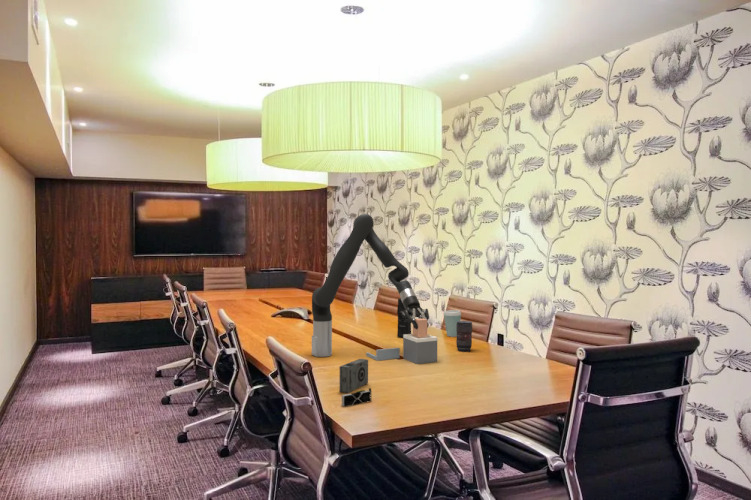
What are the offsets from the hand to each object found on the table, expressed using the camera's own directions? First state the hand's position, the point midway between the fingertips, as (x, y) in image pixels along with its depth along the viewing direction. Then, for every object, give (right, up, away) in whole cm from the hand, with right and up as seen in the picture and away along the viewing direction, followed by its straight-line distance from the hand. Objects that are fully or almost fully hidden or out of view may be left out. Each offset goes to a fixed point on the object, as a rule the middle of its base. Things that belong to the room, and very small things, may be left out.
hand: (422, 327), depth 253 cm
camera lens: (+24, -15, +24) cm, 37 cm away
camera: (-31, -17, -46) cm, 58 cm away
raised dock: (-1, -16, +2) cm, 16 cm away
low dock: (-19, -15, +9) cm, 26 cm away
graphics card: (-28, -17, -65) cm, 73 cm away
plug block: (-1, -4, +2) cm, 5 cm away
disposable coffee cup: (+23, -15, +65) cm, 71 cm away
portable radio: (-6, -15, +61) cm, 63 cm away
